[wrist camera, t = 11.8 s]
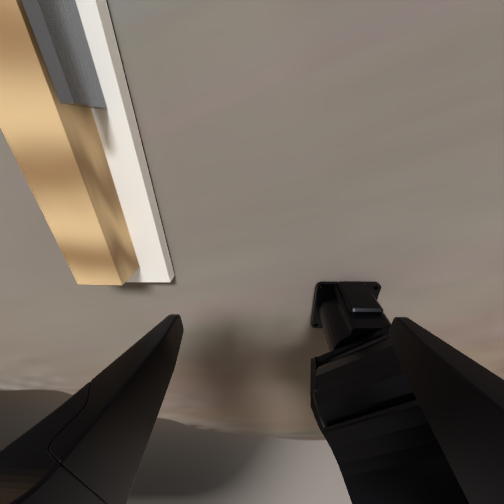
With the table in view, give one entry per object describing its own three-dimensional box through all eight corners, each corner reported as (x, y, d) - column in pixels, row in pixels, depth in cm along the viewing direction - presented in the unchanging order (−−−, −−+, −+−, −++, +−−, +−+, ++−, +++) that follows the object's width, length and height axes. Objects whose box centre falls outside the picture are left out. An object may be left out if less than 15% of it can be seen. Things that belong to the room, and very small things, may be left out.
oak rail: (139, 266, 21) (122, 285, 19) (100, 265, 21) (78, 284, 19) (60, 8, 13) (6, -25, 10) (-4, 10, 13) (-74, -22, 10)
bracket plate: (174, 275, 23) (157, 302, 19) (94, 275, 24) (63, 301, 20) (97, -34, 12) (28, -105, 9) (-45, -23, 13) (-166, -85, 9)
